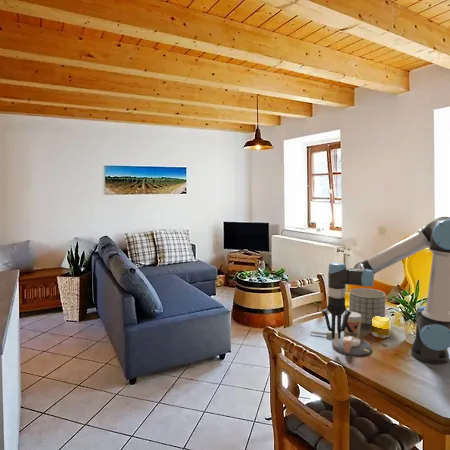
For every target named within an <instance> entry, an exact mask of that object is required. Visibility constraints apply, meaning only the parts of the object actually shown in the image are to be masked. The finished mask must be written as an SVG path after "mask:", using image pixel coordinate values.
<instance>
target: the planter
mask: <svg viewBox="0 0 450 450" xmlns="http://www.w3.org/2000/svg"><path fill="white" fill-rule="evenodd" d="M386 297H387V295H386V293H385V292H384V291H382V290H379V289H375V288H365V287H356V288H351V289H349V299H348V300H349V302H348V303H349V305H348V310H350V312H357V313H359V314H361V317H362V318H361V326H365V327H372V326H371V325H372V318H373V317H375V316H380V317H385V318H386V299H387V298H386Z"/></svg>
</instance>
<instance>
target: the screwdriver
mask: <svg viewBox="0 0 450 450" xmlns="http://www.w3.org/2000/svg"><path fill="white" fill-rule="evenodd" d="M310 333H311V334H312V335H313V334H315V335H323V336H326V338H327V339H333V338H332V331H329V330H326V332H321V331H310Z"/></svg>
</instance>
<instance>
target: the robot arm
mask: <svg viewBox="0 0 450 450" xmlns="http://www.w3.org/2000/svg"><path fill="white" fill-rule="evenodd" d="M427 248H429V251H430V252H431V254H432V257H431V258H432V259H431V265H430V266H431V267H430V274H429V283H428V292H427V298H426V299H427V300H426V305H419V306H417V307H416V308H417V309H416V311H415V313H416V320H415V321H416V324H415V327H416V328H415V339H414V341H413V343H412V346H411V348H410V354H411V356H413V358H415V359H417V360H420V361H421V362H424V363H429V364H435V365H443V364H446V363H449V361H450V353H449V351H448V350H449V348H450V217H449V216H440V217H437V218H435V219H434V220H431V222H429V223H427V224H425V225H424V226H423V227H420V228H419V229H418V231H417V233H414V234H413V235H410V236H408V237H405V238H404V239H403V240H401V241H399V242H397V243H395V244H394V245H392V246H390V247H388V248H386V249H383V250H382V251H380V252H378V253H376V254H374V255H372V256H371V257H368V258H367V259H365V260H363V261H359V262H358V263H355V265H354V267H352V268H351V267H347V265H346V263H344V262H339V261H336V262H335V261H334V262H331V263H329V264H328V273H327V274H328V275H327V276H328V277H327V279H328V288H327V289H328V293H327V294H328V296H327V306H326V308H325V309H324V308H323V309H322V310H321V312H322V313H323V315H324V319H325V324H326V328H327V331H332V338H331V339H333V340H334V346H338V339H340V337H342V335H341V333H342V332H344V331H345V328H346V324H347V321H348V317H349V315H350V314H351V312H350V310H349V309H347V307H346V285H348V286H358V287H359V286H360V287H363V288H365V287H373V286H374V285H375V283H374V282H375V281H374V279H375V274H376V273H379V272H381V271H383V270H385V269H387V268H389V267H391V266H393V265H395V264H397V263H399V262H401V261H403V260H404V259H407V258H409V257H411V256H414V255H415V254H416V253H419V252H422V251H423V250H425V249H427ZM344 312H345V315H344V319H343V318H342V316H343V313H344ZM328 314H330V315H331V323H330V319H329V316H328Z"/></svg>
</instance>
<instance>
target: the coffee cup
mask: <svg viewBox="0 0 450 450" xmlns="http://www.w3.org/2000/svg"><path fill="white" fill-rule="evenodd" d="M344 315H345V312H344V313H343V314H342V320H343V319H344ZM361 318H362V317H361V314H359V313H357V312H351V314H350V315H349V317H348V321H347V324H346V328H345V331H343V337H347V336H351V337H356V338H359V339H360V334H361V326H362V325H361Z"/></svg>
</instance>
